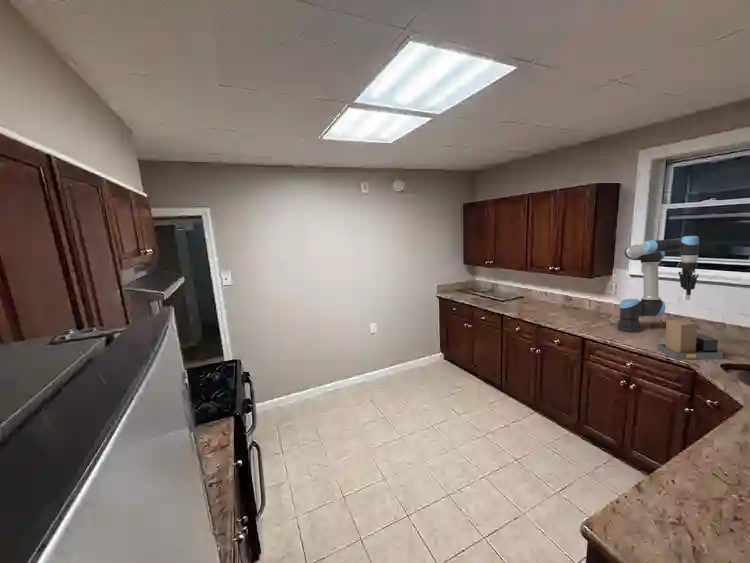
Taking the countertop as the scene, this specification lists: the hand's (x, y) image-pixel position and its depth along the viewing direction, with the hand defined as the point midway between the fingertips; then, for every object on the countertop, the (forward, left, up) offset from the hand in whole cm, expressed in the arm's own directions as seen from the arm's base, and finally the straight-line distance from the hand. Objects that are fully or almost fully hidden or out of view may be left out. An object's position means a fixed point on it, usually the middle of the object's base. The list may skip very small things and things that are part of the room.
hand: (686, 299), depth 202 cm
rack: (+6, -2, -33) cm, 34 cm away
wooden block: (+6, -7, -32) cm, 33 cm away
